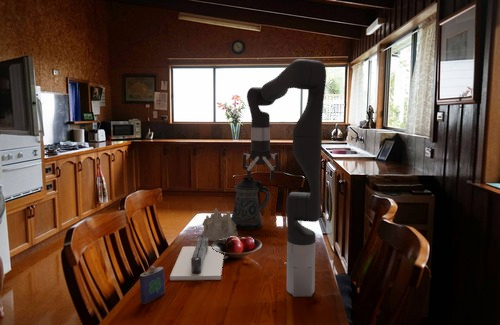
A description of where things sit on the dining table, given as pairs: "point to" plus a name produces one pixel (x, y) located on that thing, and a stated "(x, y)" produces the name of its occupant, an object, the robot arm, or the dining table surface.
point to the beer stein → (249, 204)
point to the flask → (152, 284)
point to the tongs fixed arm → (199, 257)
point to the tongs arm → (197, 247)
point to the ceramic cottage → (219, 226)
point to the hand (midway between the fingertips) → (260, 179)
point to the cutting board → (209, 269)
